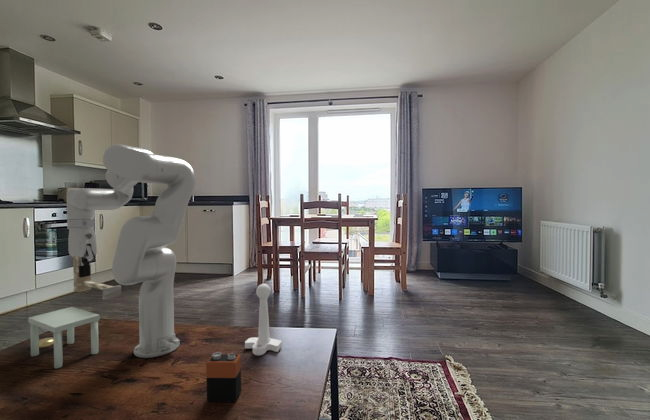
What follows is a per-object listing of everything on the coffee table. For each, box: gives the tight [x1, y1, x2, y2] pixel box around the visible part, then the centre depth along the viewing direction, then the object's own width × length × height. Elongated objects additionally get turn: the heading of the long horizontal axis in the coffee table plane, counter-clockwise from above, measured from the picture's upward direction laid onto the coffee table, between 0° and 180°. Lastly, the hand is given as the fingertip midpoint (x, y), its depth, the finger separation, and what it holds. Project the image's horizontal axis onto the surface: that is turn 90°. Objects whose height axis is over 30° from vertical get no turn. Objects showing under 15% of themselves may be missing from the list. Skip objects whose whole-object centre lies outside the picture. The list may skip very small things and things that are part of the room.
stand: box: [27, 306, 101, 369], centre depth 93 cm, size 17×11×12 cm, turn 62°
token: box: [39, 337, 54, 349], centre depth 100 cm, size 5×5×2 cm
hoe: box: [72, 254, 122, 301], centre depth 105 cm, size 21×5×14 cm, turn 62°
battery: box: [205, 351, 242, 403], centre depth 71 cm, size 4×7×10 cm, turn 88°
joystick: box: [244, 283, 283, 356], centre depth 94 cm, size 11×8×20 cm
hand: (82, 275), depth 109 cm, fingers closed on hoe, 3 cm apart
